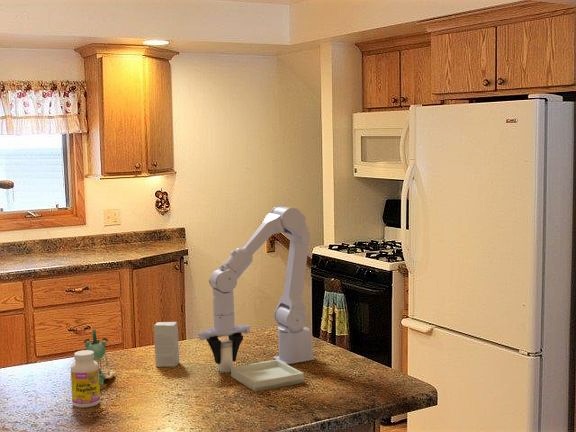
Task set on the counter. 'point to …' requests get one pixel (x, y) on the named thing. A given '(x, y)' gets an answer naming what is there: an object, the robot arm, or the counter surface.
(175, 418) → the counter surface
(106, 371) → the frog figurine
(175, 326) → the skincare box
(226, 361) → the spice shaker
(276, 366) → the tray
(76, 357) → the supplement bottle
